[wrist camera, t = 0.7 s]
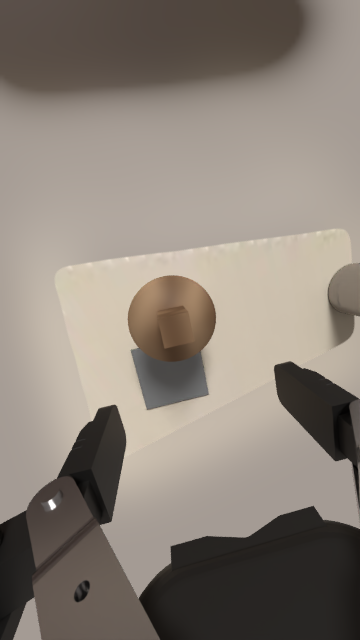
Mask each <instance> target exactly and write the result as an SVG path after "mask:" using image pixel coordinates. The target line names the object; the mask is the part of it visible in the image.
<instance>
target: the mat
mask: <svg viewBox="0 0 360 640" xmlns="http://www.w3.org/2000/svg"><path fill="white" fill-rule="evenodd" d="M131 353H132V356H133V360H134V364H135V367H136V371H137V375H138V378H139V382H140V386H141V389H142V393H143V397H144V400H145V404H146V408H147V409H151V408H156V407H160V406H164V405H168V404H172V403H176V402H180V401H184V400H188V399H192V398H196V397H200V396H204V395H208V394H209V393H208V388H207V383H206V377H205V372H204V367H203V362H202V357H201V352H199V353H197V354H196V355H194V356H192V357H190V358H188V359H185V360H182V361H177V362H166V361H160V360H157V359H154V358H152V357H150V356H148V355H147V354H145V353H144V352H143V351H142V350H141V349H140V348H137V349H133V350H131Z"/></svg>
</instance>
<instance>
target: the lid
mask: <svg viewBox="0 0 360 640" xmlns="http://www.w3.org/2000/svg"><path fill="white" fill-rule="evenodd" d="M215 323H216V313H215V308H214V304H213V302H212V299H211V298H210V296H209V294H208V293H207V292H206V290H205V289H204V288H203V287H202V286H200V285H199V284H198V283H196V282H195V281H193V280H191V279H188V278H185V277H182V276H163V277H159V278H156V279H154V280H152V281H150V282H148V283H147V284H146V285H144V286H143V287H142V288H141V289H140V290H139V291H138V292H137V294H136V295H135V296H134V298H133V300H132V302H131V305H130V308H129V312H128V326H129V331H130V334H131V336H132V338H133V340H134V342H135V343H136V345H137V346H138V347H139V348H140V349H141V350H142V351H143V352H144V353H145V354H147V355H148V356H150V357H152V358H154V359H157V360H160V361H166V362H177V361H182V360H185V359H188V358H190V357H192V356H194V355H196V354H197V353H199V352H200V351H201V350H202V349H203V348H204V347H205V346H206V345H207V343H208V342H209V340H210V339H211V337H212V335H213V332H214V329H215Z"/></svg>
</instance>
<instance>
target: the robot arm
mask: <svg viewBox="0 0 360 640" xmlns="http://www.w3.org/2000/svg"><path fill="white" fill-rule="evenodd" d="M329 300H330V302H331V304H332V306H333V307H334V308H335V309H336V310H337V311H339V312H342V313H347V314H351V315H356V316H360V263H353V264H349V265H346V266H344V267H343V268H341V269H340V270H339V271H338V272H337V273H336V274H335V275H334V277H333V278H332V280H331V283H330V286H329ZM274 373H275V380H276V388H277V395H278V397H279V400H280V402H281V404H282V405H283V406H284V407H285V408H286V409H287V411H288V412H289V413H290V414H291V415H292V416H293V417H294V418H295V419H296V420H297V421H298V422H299V423H300V424H301V425H302V426H303V428H304V429H305V430H306V431H307V432H308V433H309V434H310V435H311V436H312V437H313V438H314V439H315V440H316V441H317V442H318V443H319V445H320V446H321V447H322V448H323V449H324V450H325V451H326V452H327V453H328V454H329V455H330V456H331V457H332V458H333V459H334V460H335V461H339V460H343V459H346V458H348V459H349V460H350V461H351V462H352V472H353V479H354V486H355V493H356V500H357V506H358V513H359V520H360V399H359V398H357V397H355V396H354V395H352V394H351V393H349V392H347V391H346V390H344V389H342V388H341V387H339V386H338V385H336V384H333V383H332V382H331V381H330V380H328V379H325V377H323V376H322V375H320V374H319V373H317V372H314V371H311V370H308V369H305V368H304V369H302V368H300V367H299V366H297V365H296V364H294V363H293V362H291V361H289V362H285V363H281V364H277V365H275V366H274ZM125 448H126V434H125V430H124V427H123V424H122V421H121V418H120V414H119V411H118V408H117V406H116V405H111V406H107V407H103V408H99V409H98V411H97V413H96V416H95V418H94V420H93V421H91V422H89V423H88V424H87V425H86V426H85V427H84V428H83V429H82V430H81V431H80V433H79V435H78V437H77V439H76V442H75V443H74V445H73V447H72V450H71V451H70V453H69V455H68V457H67V459H66V461H65V463H64V465H63V467H62V469H61V471H60V473H59V475H58V477H57V479H55V480H53V481H51V482H50V483H48V484H47V485H45V486H44V487H43V488H42V489H41V490H40V491H39V492H38V493H37V494H36V495H35V496H34V497H33V499H32V500H31V502H30V503H29V505H28V507H27V510H26V511H24V512H22V513H21V514H19V515H17V516H15V517H13V518H11V519H9V520H7V521H6V522H4V523H2V524H0V640H13V638H14V635H15V632H16V630H17V627H18V624H19V622H20V619H21V616H22V613H23V611H24V608H25V605H26V602H28V601H29V600H31V599H32V598H34V597H35V602H36V609H37V614H38V621H39V626H40V633H41V639H42V640H360V529H358V528H356V527H353V526H350V525H347V524H344V523H340V522H335V521H329V520H323V519H322V518H321V517H320V515H319V513H318V512H317V510H316V509H315V507H314V506H312V507H308V508H305V509H301V510H298V511H294V512H291V513H287V514H283V515H280V516H278V517H277V518H275V519H274V520H272V521H271V522H269V523H268V524H267V525H265V526H264V527H262V528H261V529H259V530H258V531H257V532H255V533H254V534H252V535H251V536H249V537H246V538H237V537H213V536H206V537H202V538H199V539H195V540H192V541H188V542H185V543H181V544H177V545H174V546H171V564H169V565H168V566H166V567H165V568H164V569H163V570H162V571H160V572H159V573H158V574H157V575H156V576H155V578H154V579H153V580H152V581H151V582H150V583H149V584H148V586H147V587H146V588H145V590H144V591H143V592H142V594H141V596H140V597H139V599H138V597H137V595H136V593H135V591H134V589H133V587H132V585H131V583H130V582H129V580H128V578H127V576H126V574H125V572H124V571H123V568H122V566H121V565H120V563H119V561H118V559H117V557H116V555H115V553H114V551H113V549H112V548H111V546H110V544H109V542H108V540H107V538H106V536H105V534H104V533H103V530H102V529H101V527H100V525H101V524H105V523H109V522H111V521H112V516H113V511H114V506H115V500H116V495H117V490H118V484H119V479H120V474H121V469H122V463H123V459H124V453H125Z"/></svg>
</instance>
